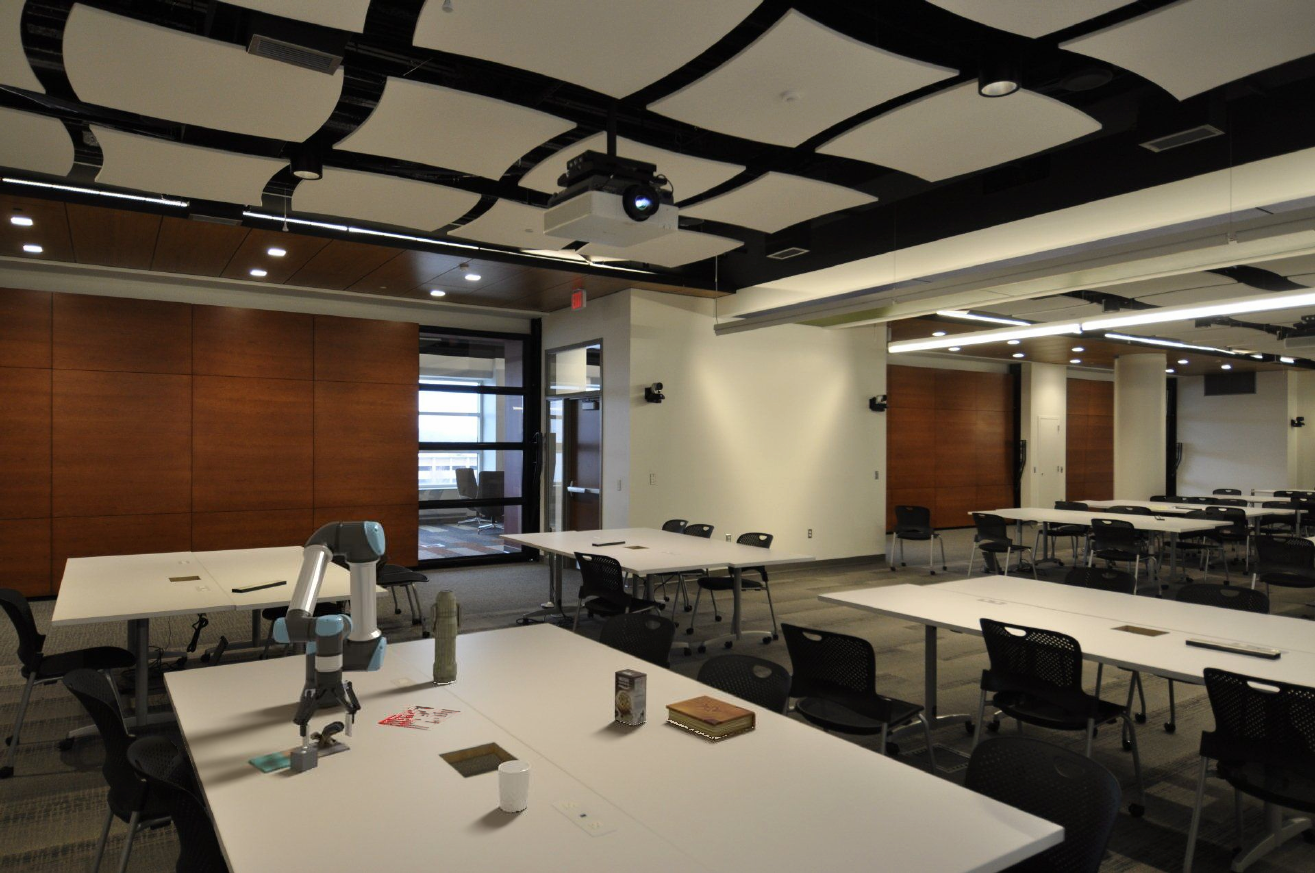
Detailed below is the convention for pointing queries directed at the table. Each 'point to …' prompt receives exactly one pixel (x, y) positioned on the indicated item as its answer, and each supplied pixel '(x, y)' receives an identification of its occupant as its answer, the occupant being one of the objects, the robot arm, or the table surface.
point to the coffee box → (630, 696)
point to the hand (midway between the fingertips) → (327, 741)
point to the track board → (283, 757)
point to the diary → (711, 716)
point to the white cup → (514, 785)
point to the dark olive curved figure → (327, 733)
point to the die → (303, 759)
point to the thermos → (445, 636)
